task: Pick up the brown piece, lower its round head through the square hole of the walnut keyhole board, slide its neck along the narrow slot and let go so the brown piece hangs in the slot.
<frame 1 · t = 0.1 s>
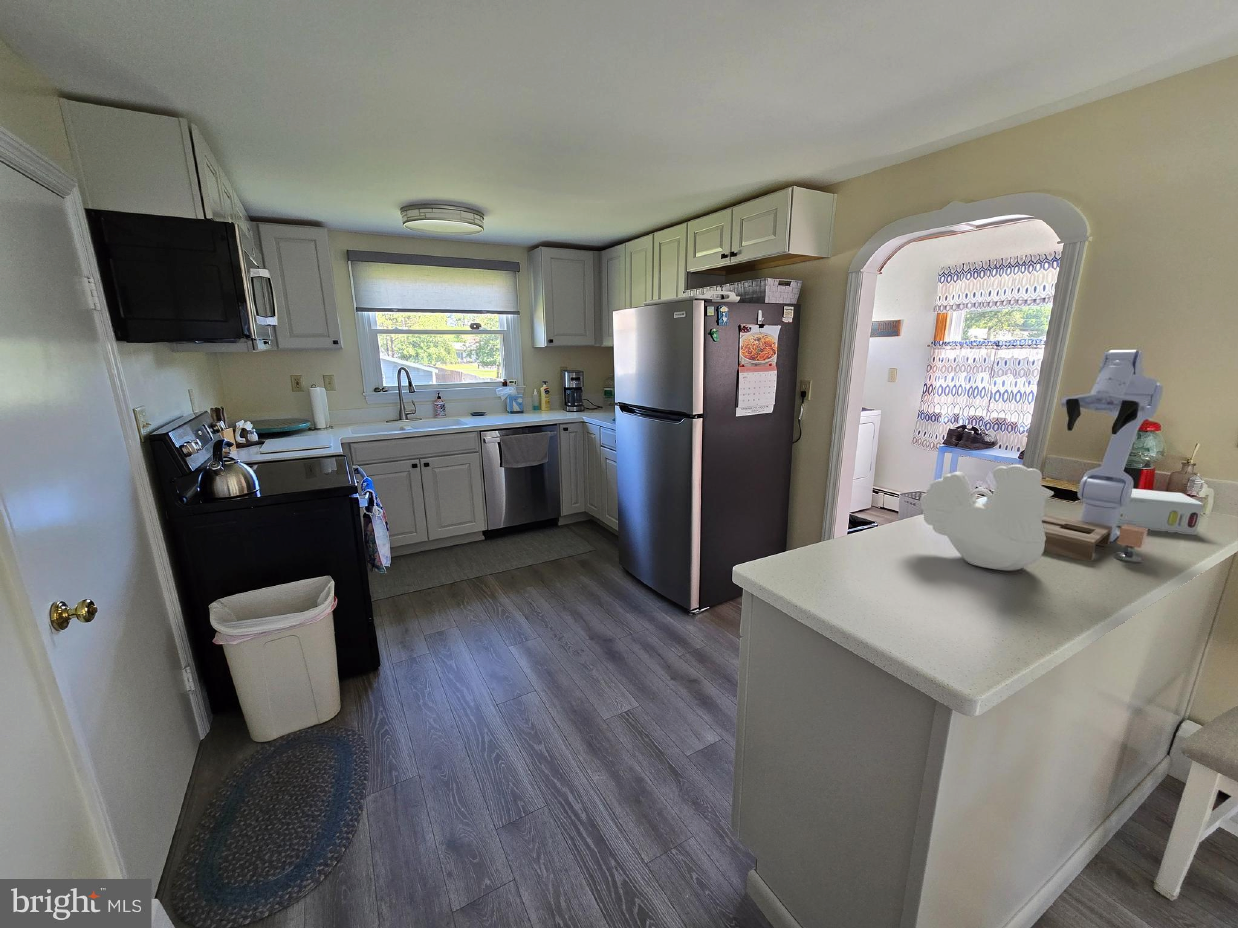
hand: (1090, 429, 115), 32 cm above the countertop, tool tilted 50°, fingers open, 7 cm apart
keyhole board: (1058, 543, 131), on the countertop
supplement box: (1144, 525, 146), on the countertop
brown piece: (1127, 559, 121), on the countertop
decorative rooster: (974, 559, 122), on the countertop
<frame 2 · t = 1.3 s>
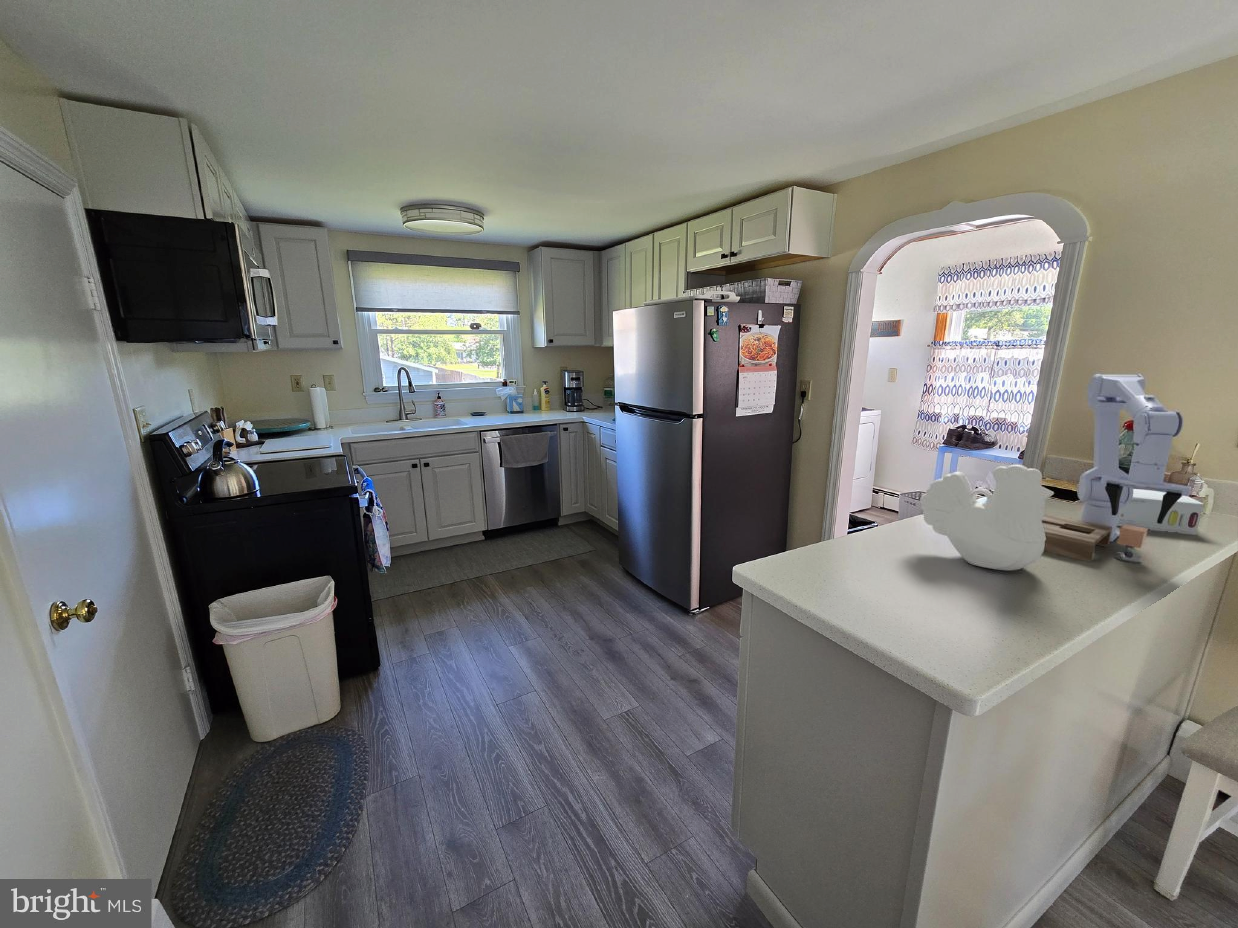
hand: (1136, 518, 119), 10 cm above the countertop, tool pointing down, fingers open, 7 cm apart
nothing on the countertop moved.
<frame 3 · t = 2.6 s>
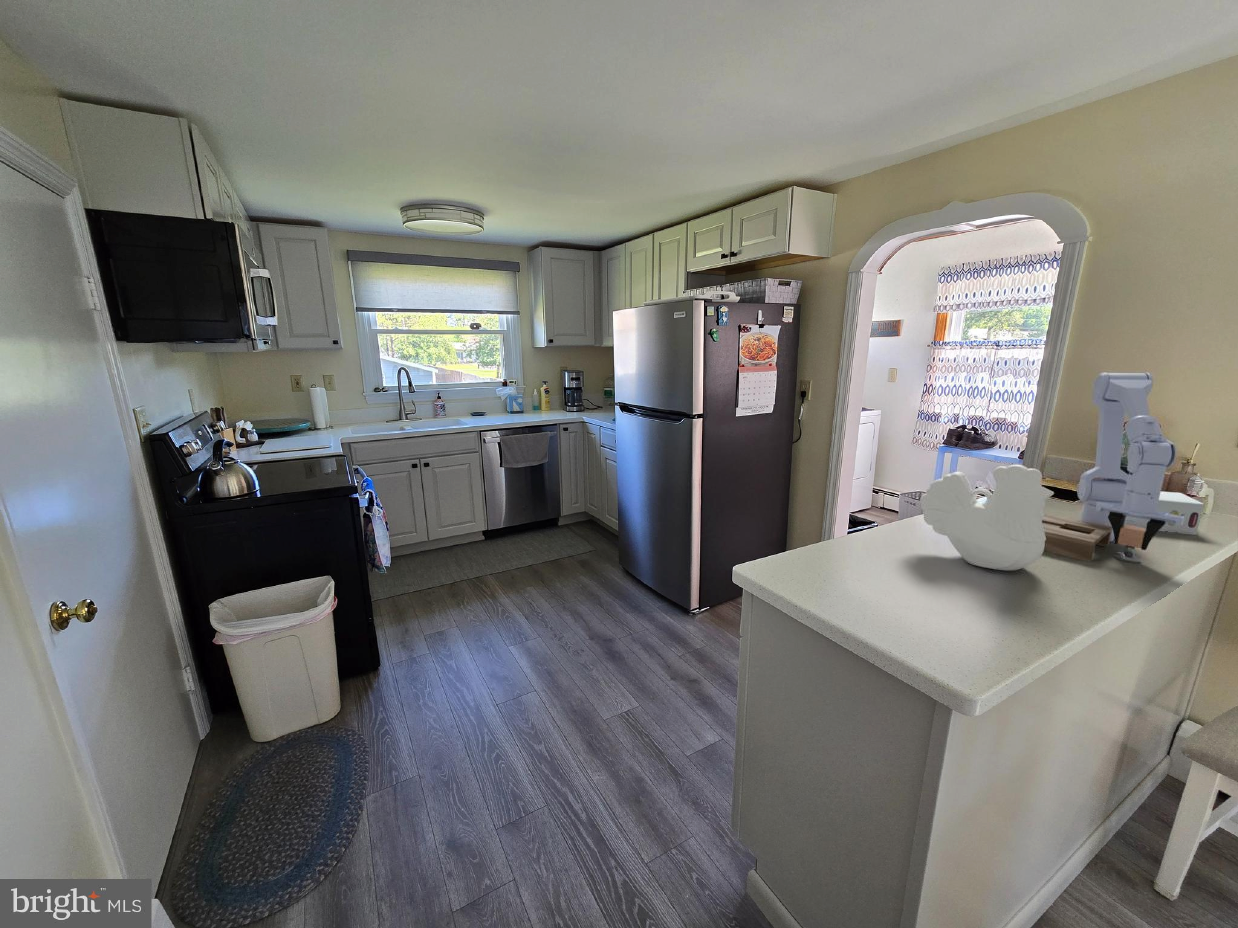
hand: (1130, 546, 120), 3 cm above the countertop, tool pointing down, fingers closed on brown piece, 4 cm apart
brown piece: (1127, 559, 121), on the countertop, touching gripper
everything else where it was.
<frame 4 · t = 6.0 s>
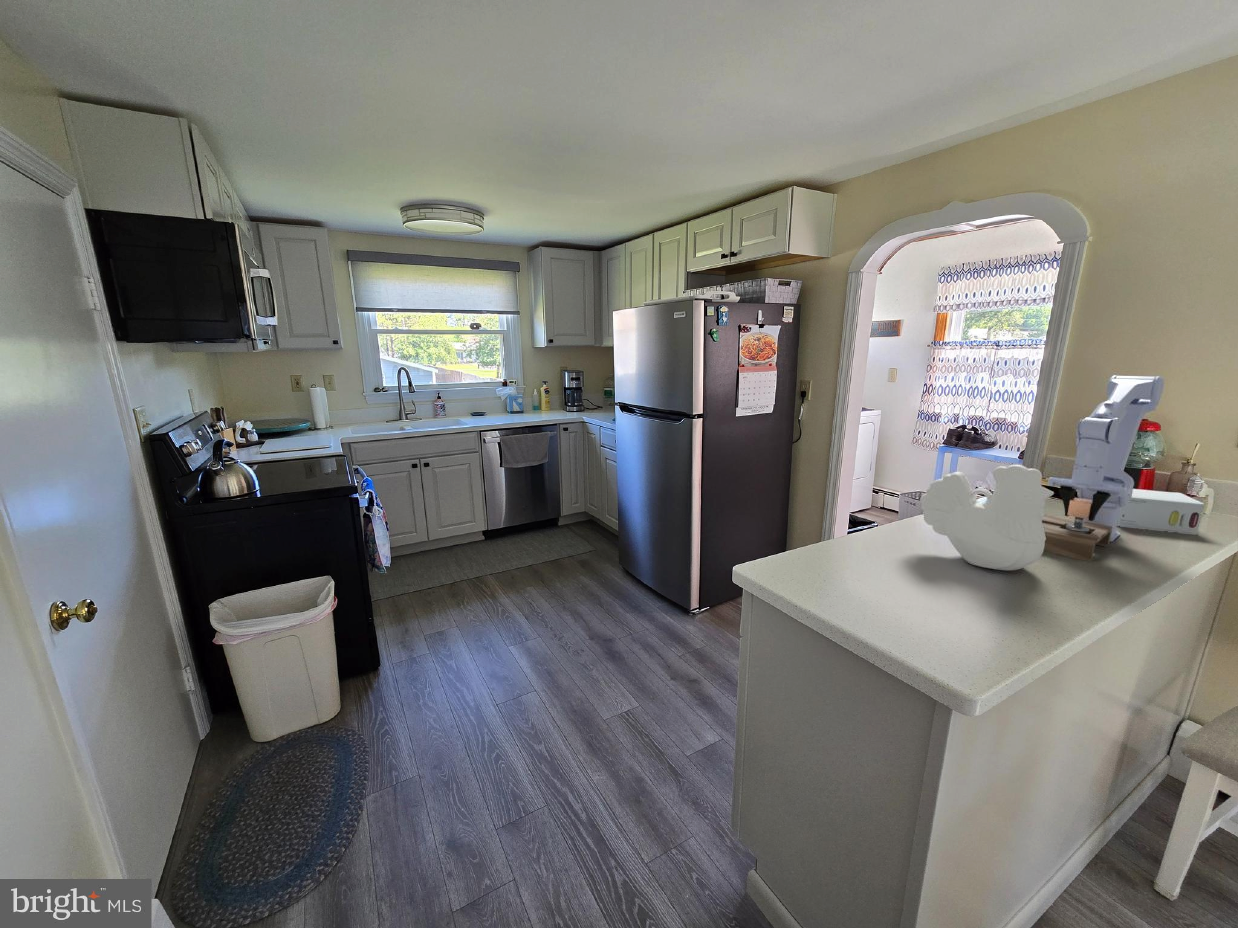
hand: (1079, 517, 127), 8 cm above the countertop, tool pointing down, fingers closed on brown piece, 4 cm apart
brown piece: (1076, 530, 128), point 5 cm above the countertop, touching gripper
everything else where it was.
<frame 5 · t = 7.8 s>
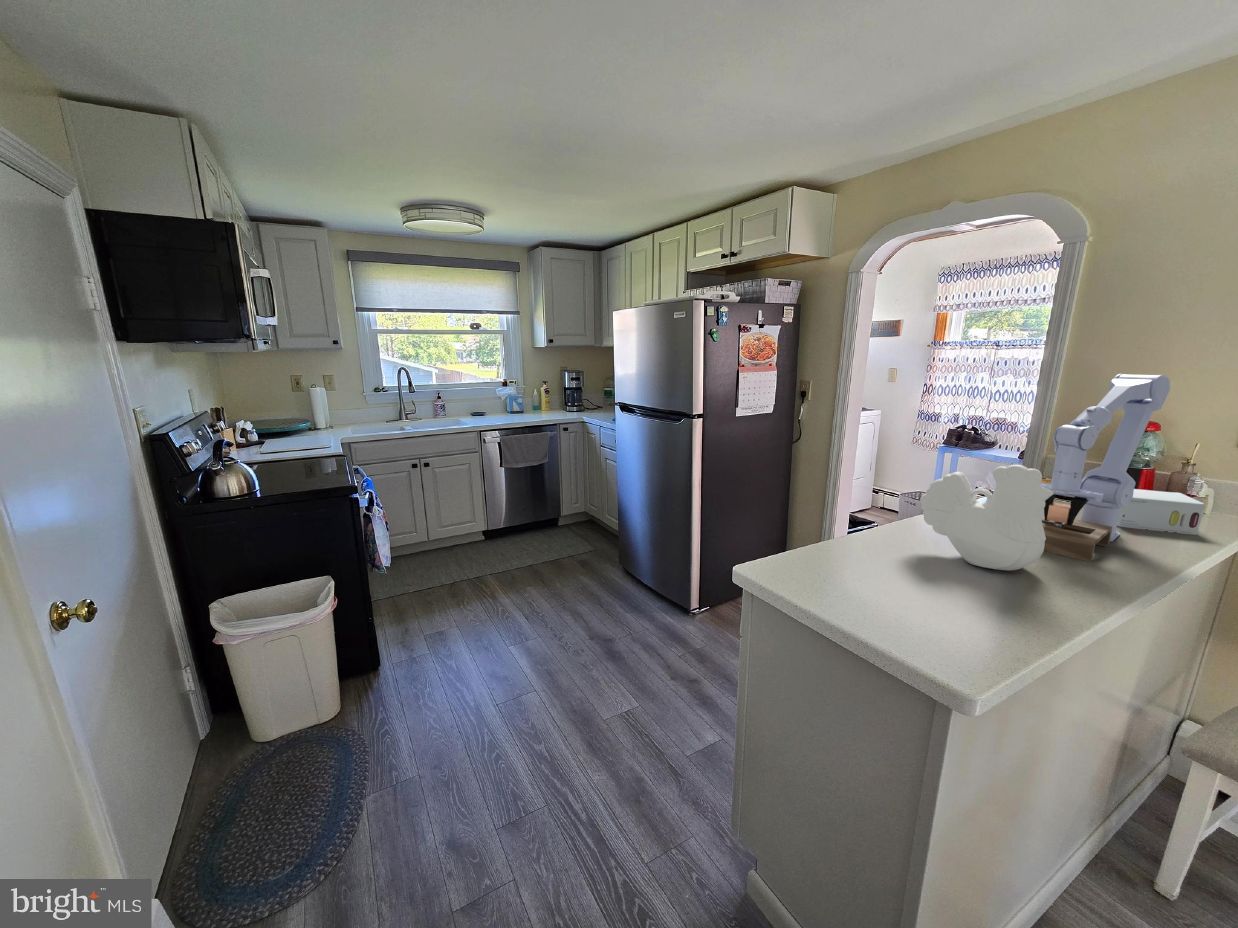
hand: (1058, 522, 131), 6 cm above the countertop, tool pointing down, fingers closed on brown piece, 4 cm apart
brown piece: (1056, 534, 132), point 2 cm above the countertop, touching gripper
everything else where it was.
when the fingers open (6 cm above the countertop, at t = 9.4 s): brown piece drops 1 cm, resting on keyhole board.
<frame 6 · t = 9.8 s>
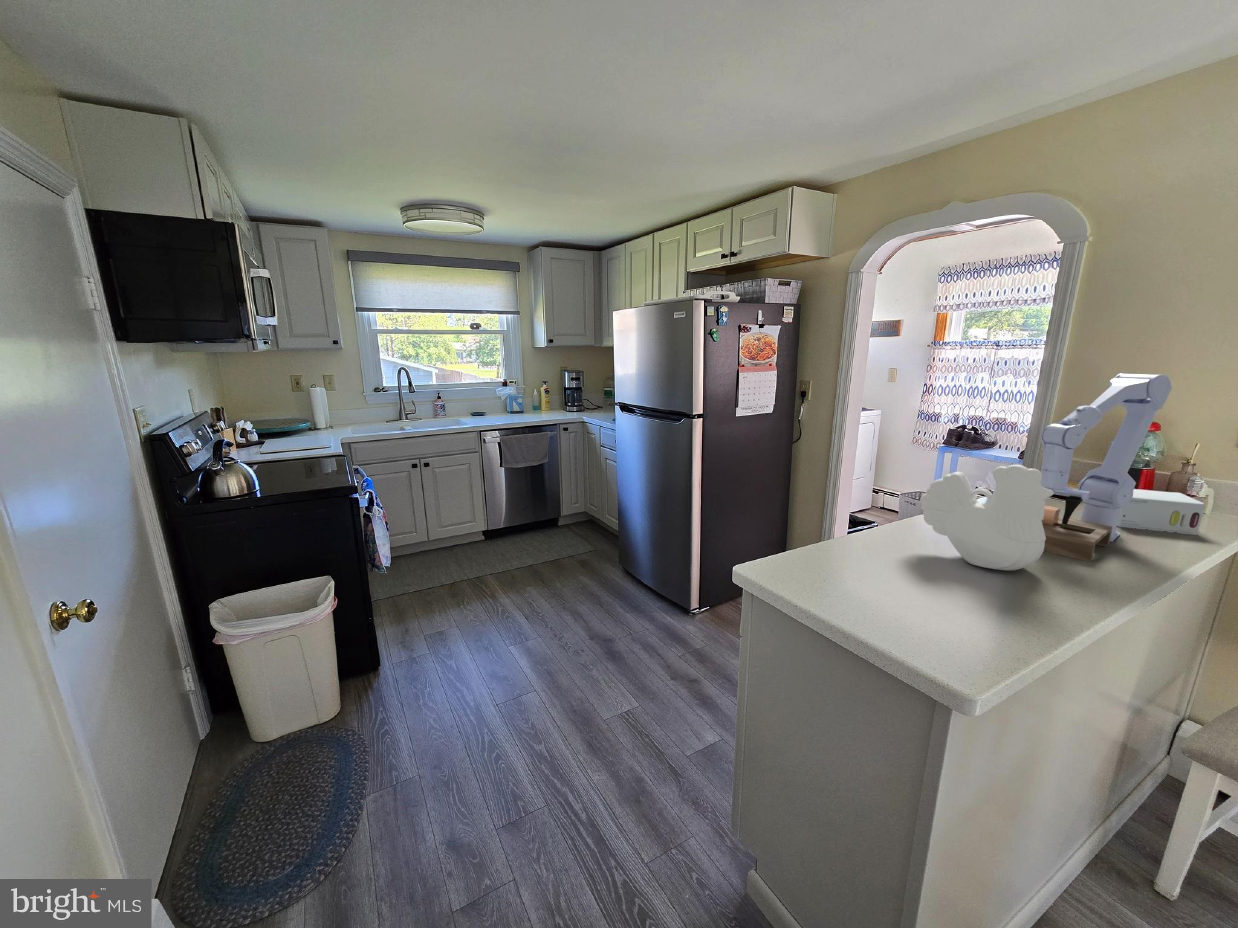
hand: (1046, 519, 133), 6 cm above the countertop, tool pointing down, fingers open, 7 cm apart
brown piece: (1043, 536, 134), point 1 cm above the countertop, touching keyhole board
everything else where it was.
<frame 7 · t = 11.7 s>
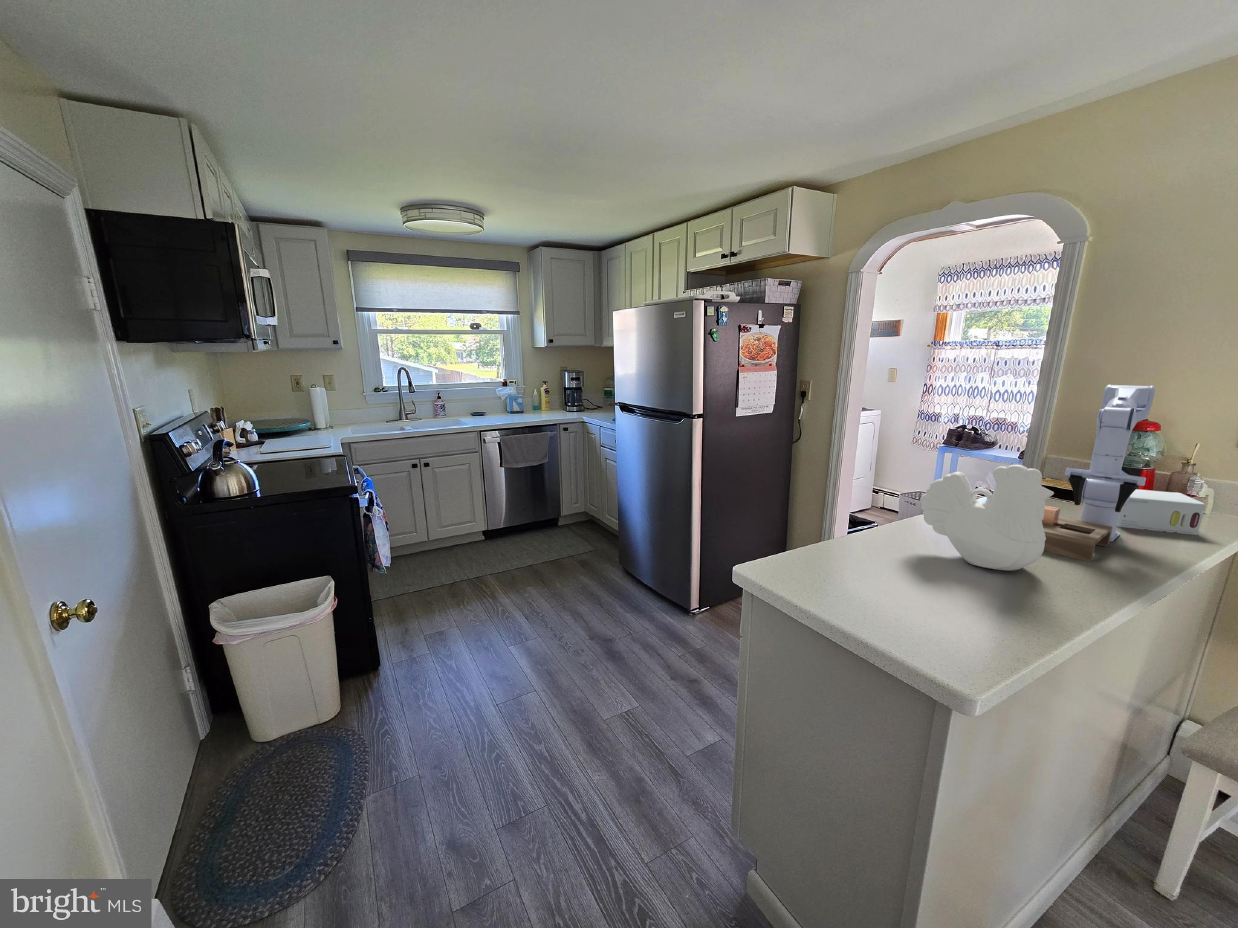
hand: (1096, 508, 127), 10 cm above the countertop, tool pointing down, fingers open, 7 cm apart
nothing on the countertop moved.
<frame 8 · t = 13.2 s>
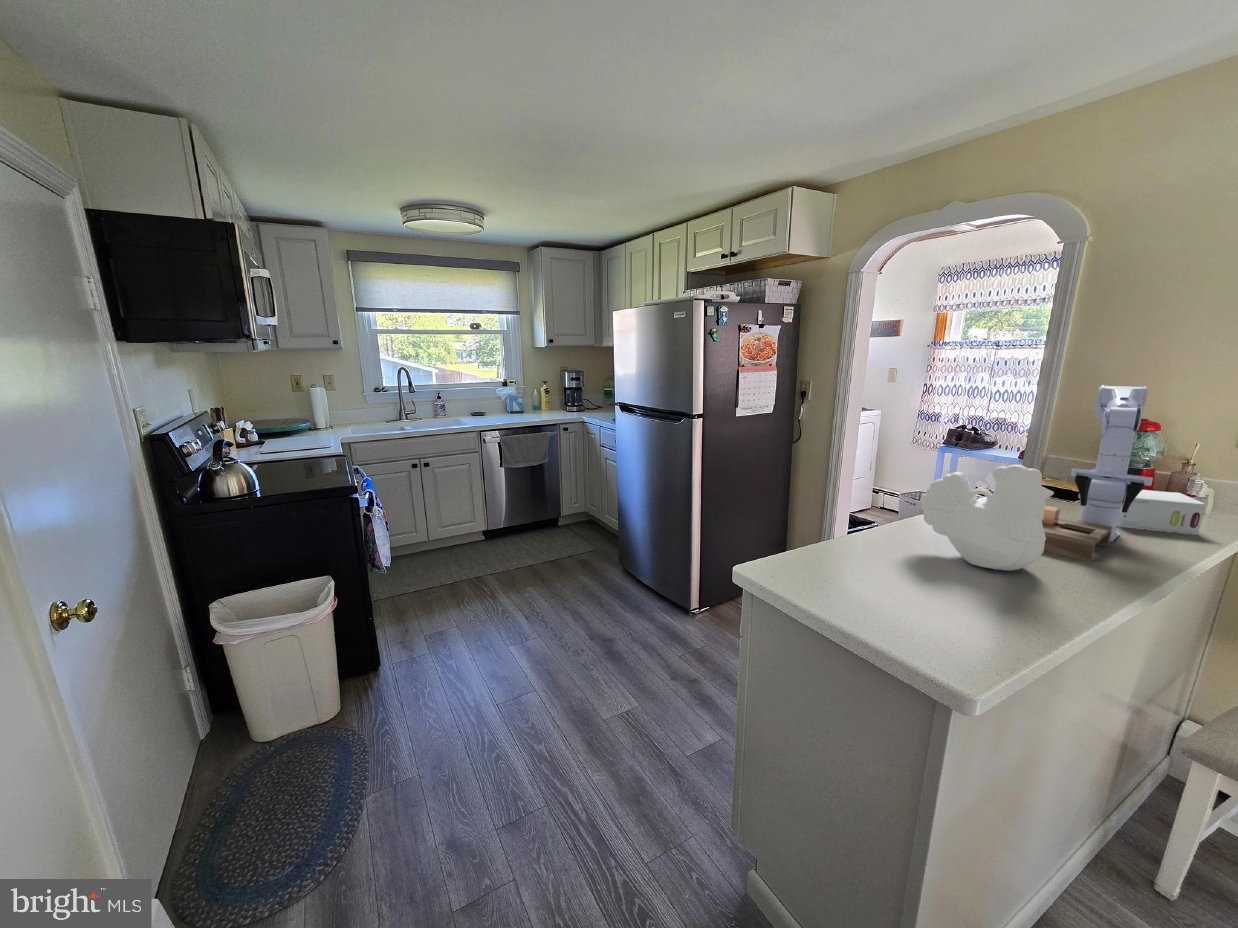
hand: (1103, 508, 126), 11 cm above the countertop, tool pointing down, fingers open, 7 cm apart
nothing on the countertop moved.
at the end: brown piece 0.1 cm from the target spot on the keyhole board, point 1.0 cm above the keyhole board's base; brown piece tilted 0°; the gripper is holding nothing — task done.
